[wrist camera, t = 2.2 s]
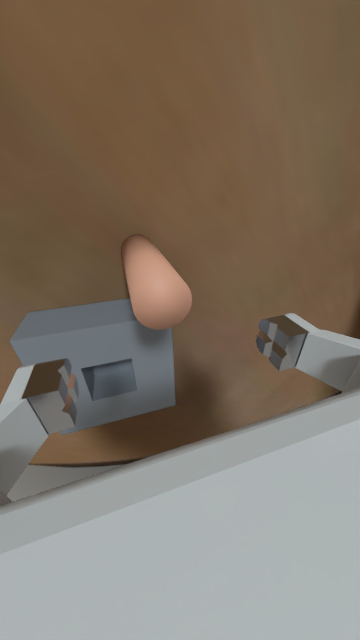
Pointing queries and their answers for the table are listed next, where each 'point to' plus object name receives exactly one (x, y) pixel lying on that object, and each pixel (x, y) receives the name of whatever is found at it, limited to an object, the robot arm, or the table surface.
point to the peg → (154, 285)
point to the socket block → (103, 358)
